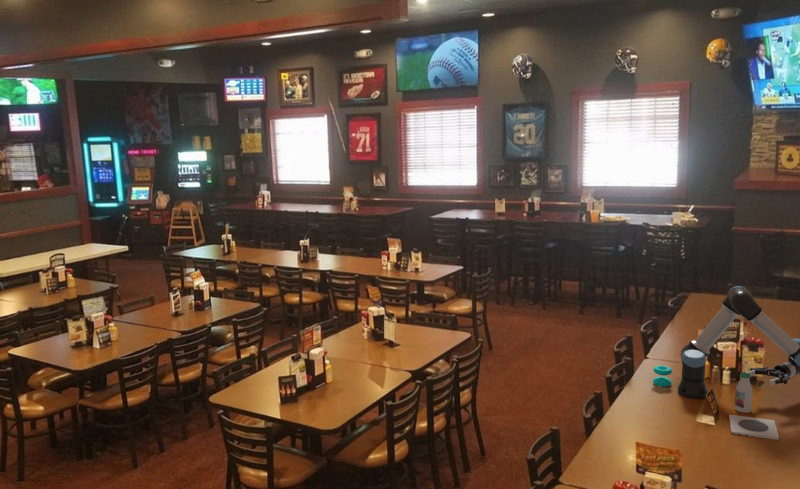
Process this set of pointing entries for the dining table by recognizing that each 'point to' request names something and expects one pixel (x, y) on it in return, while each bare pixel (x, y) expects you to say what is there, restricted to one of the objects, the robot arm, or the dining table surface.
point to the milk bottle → (743, 394)
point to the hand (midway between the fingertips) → (758, 379)
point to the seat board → (753, 427)
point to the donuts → (663, 371)
